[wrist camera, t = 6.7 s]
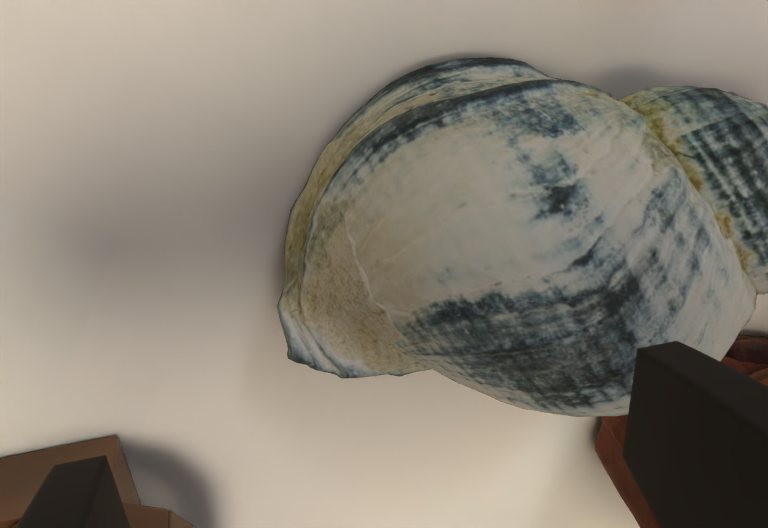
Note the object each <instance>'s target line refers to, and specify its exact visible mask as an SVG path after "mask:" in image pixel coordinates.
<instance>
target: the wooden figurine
mask: <svg viewBox="0 0 768 528" xmlns="http://www.w3.org/2000/svg"><path fill="white" fill-rule="evenodd" d="M720 362H722V363H724V364H726V365H728V366H730V367H732V368H734V369H735V370H737V371H739V372H741V373H743V374H745V375H747V376H749V377H751V378H753V379H755V380H756V381H758V382H760V383H762V384H764V385H766V386H768V337H764V336H760V337H752V336H743V335H738V336H737V338H736V339H735V341H734V343H733V344H732V346H731V347H730V348H729V350H728V351H727V353H726V354H725V356H724V357H723V359H722V360H721V361H720ZM627 419H628V414H626V415H620V416H603V417H602V423H601V428H600V432H599V435H598V437H597V439H596V443H595V450H596V453H597V455H598V457H599V459H600V461H601V463H602V464H603V466H604V468H605V470H606V472H607V473H608V475H609V477H610V478H611V480H612V482H613V484H614V485H615V487H616V489H617V491H618V492H619V494H620V496H621V497H622V499H623V500H624V502H625V503H626V505H627V506H628V508H629V510H630V511H631V513H632V514H633V516H634V517H635V519H636V521H637V522H638V524H639V526H640V527H641V528H661V526H660V525H659V523H658V522H657V521H656V519H655V517H654V515H653V513H652V512H651V510H650V508H649V506H648V504H647V503H646V501H645V499H644V497H643V495H642V494H641V492H640V490H639V488H638V486H637V484H636V482H635V480H634V478H633V476H632V474H631V472H630V470H629V468H628V466H627V464H626V463H625V461H624V459H623V457H622V454H623V447H624V440H625V433H626V426H627Z"/></svg>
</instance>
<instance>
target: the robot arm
mask: <svg viewBox="0 0 768 528" xmlns="http://www.w3.org/2000/svg"><path fill="white" fill-rule="evenodd" d="M622 457H623V459H624V461H625V463H626V464H627V466H628V468H629V470H630V472H631V474H632V476H633V478H634V480H635V482H636V484H637V486H638V488H639V490H640V492H641V494H642V495H643V497H644V499H645V501H646V503H647V504H648V506H649V508H650V510H651V512H652V513H653V515H654V517H655V519H656V521H657V522H658V523H659V525H660V526H661V528H768V386H766V385H764V384H762V383H760V382H758V381H756V380H755V379H753V378H751V377H749V376H747V375H745V374H743V373H741V372H739V371H737V370H735V369H734V368H732V367H730V366H728V365H726V364H724V363H722V362H720V361H718V360H716V359H714V358H712V357H710V356H708V355H706V354H704V353H702V352H700V351H698V350H696V349H694V348H692V347H690V346H687V345H685V344H683V343H681V342H679V341H673V342H668V343H663V344H658V345H653V346H648V347H643V348H638V349H637V355H636V362H635V369H634V376H633V383H632V390H631V398H630V405H629V412H628V419H627V426H626V433H625V440H624V447H623V454H622ZM15 528H131V527H130V524H129V521H128V519H127V516H126V513H125V510H124V507H123V504H122V501H121V498H120V495H119V492H118V489H117V486H116V483H115V480H114V477H113V474H112V471H111V468H110V465H109V462H108V459H107V457H106V455H103V456H98V457H93V458H88V459H83V460H78V461H73V462H68V463H63V464H58V465H54V467H53V468H52V469H51V470H50V471H49V473H48V474H47V476H46V477H45V479H44V481H43V482H42V484H41V485H40V487H39V489H38V490H37V492H36V494H35V495H34V497H33V499H32V500H31V502H30V504H29V505H28V507H27V509H26V510H25V512H24V514H23V515H22V517H21V519H20V520H19V522H18V524H17V525H16V527H15Z"/></svg>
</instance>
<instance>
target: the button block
mask: <svg viewBox="0 0 768 528" xmlns="http://www.w3.org/2000/svg"><path fill="white" fill-rule="evenodd" d="M103 455H106V457H107V459H108V462H109V465H110V468H111V471H112V474H113V477H114V480H115V483H116V486H117V489H118V492H119V495H120V498H121V501H122V504H123V507H124V510H125V513H126V516H127V519H128V521H129V524H130V527H131V528H195V527H194V526H192V525H191V524H189V523H188V522H187V521H185V520H184V519H182V518H181V517H180V516H178V515H177V514H175V513H174V512H172V511H171V510H169V511H168V510H166V509H161V508H155V507H148V506H142V505H141V504H140V501H139V498H138V495H137V492H136V489H135V486H134V483H133V480H132V477H131V474H130V471H129V468H128V465H127V462H126V459H125V456H124V453H123V450H122V447H121V444H120V441H119V438H118V436H117V435H115V436H110V437H105V438H100V439H95V440H90V441H85V442H80V443H75V444H70V445H65V446H60V447H55V448H50V449H45V450H40V451H35V452H30V453H25V454H20V455H15V456H10V457H5V458H0V528H15V527H16V525H17V524H18V522H19V520H20V519H21V517H22V515H23V514H24V512H25V510H26V509H27V507H28V505H29V504H30V502H31V500H32V499H33V497H34V495H35V494H36V492H37V490H38V489H39V487H40V485H41V484H42V482H43V481H44V479H45V477H46V476H47V474H48V473H49V471H50V470H51V469H52V468H53V467H54V465H58V464H63V463H68V462H73V461H78V460H83V459H88V458H93V457H98V456H103Z"/></svg>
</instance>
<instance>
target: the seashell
mask: <svg viewBox="0 0 768 528" xmlns="http://www.w3.org/2000/svg"><path fill="white" fill-rule="evenodd" d="M285 268H286V282H285V287H284V290H283V292H282V295H281V297H280V300H279V302H278V305H277V308H278V313H279V317H280V321H281V325H282V328H283V332H284V335H285V338H286V342H287V345H288V352H287V355H288V359H290V360H292V361H294V362H296V363H301V364H306V365H308V366H309V367H310V368H313V369H315V370H318V371H323V372H328V373H332V374H335V375H337V376H338V377H340V378H359V377H369V376H378V375H386V374H388V375H395V376H403V375H406V374H410V373H413V372H418V371H423V370H429V369H433V370H435V371H437V372H439V373H441V374H442V375H444V376H446V377H448V378H450V379H451V380H453V381H455V382H458V383H460V384H462V385H465V386H467V387H470V388H472V389H474V390H477V391H479V392H481V393H484V394H486V395H488V396H490V397H492V398H495V399H497V400H499V401H501V402H504V403H507V404H511V405H514V406H517V407H520V408H523V409H529V410H535V411H540V412H546V413H552V414H560V415H568V416H576V417H588V416H620V415H626V414H628V412H629V405H630V398H631V390H632V383H633V376H634V369H635V362H636V355H637V349H638V348H643V347H648V346H653V345H658V344H663V343H668V342H673V341H679V342H681V343H683V344H685V345H687V346H690V347H692V348H694V349H696V350H698V351H700V352H702V353H704V354H706V355H708V356H710V357H712V358H714V359H716V360H718V361H721V360H722V359H723V357H724V356H725V354H726V353H727V351H728V350H729V348H730V347H731V346H732V344H733V343H734V341H735V339H736V338H737V336H738V334H739V332H740V330H741V329H742V327H743V326H744V325H745V324H746V323H747V322H748V321H749V319H750V317H751V316H752V314H753V312H754V310H755V307H756V295H758V294H766V293H768V106H766V105H764V104H762V103H759V102H756V101H754V100H751V99H748V98H745V97H742V96H739V95H737V94H735V93H733V92H725V91H722V90H719V89H716V88H698V87H691V86H659V87H651V88H646V89H644V90H641V91H639V92H636V93H632V94H630V95H628V96H626V97H624V98H623V99H621V100H619V101H617V100H615V99H614V98H612V96H611V94H609V93H607V92H604V91H602V90H600V89H597V88H594V87H591V86H588V85H585V84H581V83H578V82H575V81H568V80H561V79H558V78H549V77H548V76H547V75H545V74H543V73H542V72H540V71H538V70H536V69H535V68H533V67H531V66H530V65H528V64H527V63H525V62H522V61H517V60H513V59H506V58H494V57H487V58H463V59H457V60H451V61H446V62H441V63H437V64H432V65H428V66H425V67H423V68H420V69H418V70H415V71H413V72H411V73H409V74H407V75H405V76H403V77H401V78H399V79H397V80H395V81H394V82H392V83H390V84H389V85H387V86H386V87H385V88H384V89H382V90H381V91H380V92H379V93H378V94H376V95H375V96H374V97H373V98H371V99H370V100H369V101H368V102H367V103H366V104H365V105H364V106H363V107H361V108H360V109H359V110H358V111H357V112H356V113H355V114H354V115H353V116H352V117H351V118H350V119H349V120H348V121H347V122H346V123H345V124H344V125H343V126H342V128H341V129H340V130H339V132H338V133H337V134H336V136H335V137H334V138H333V140H332V141H331V142H330V143H329V144H328V145H326V147H325V149H324V150H323V152H322V154H321V155H320V157H319V159H318V161H317V163H316V165H315V167H314V169H313V171H312V173H311V176H310V178H309V180H308V183H307V185H306V187H305V189H304V190H303V192H302V193H301V194H300V195H299V197H298V198H297V200H296V202H295V203H294V205H293V207H292V209H291V212H290V217H289V222H288V227H287V233H286V239H285Z"/></svg>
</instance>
